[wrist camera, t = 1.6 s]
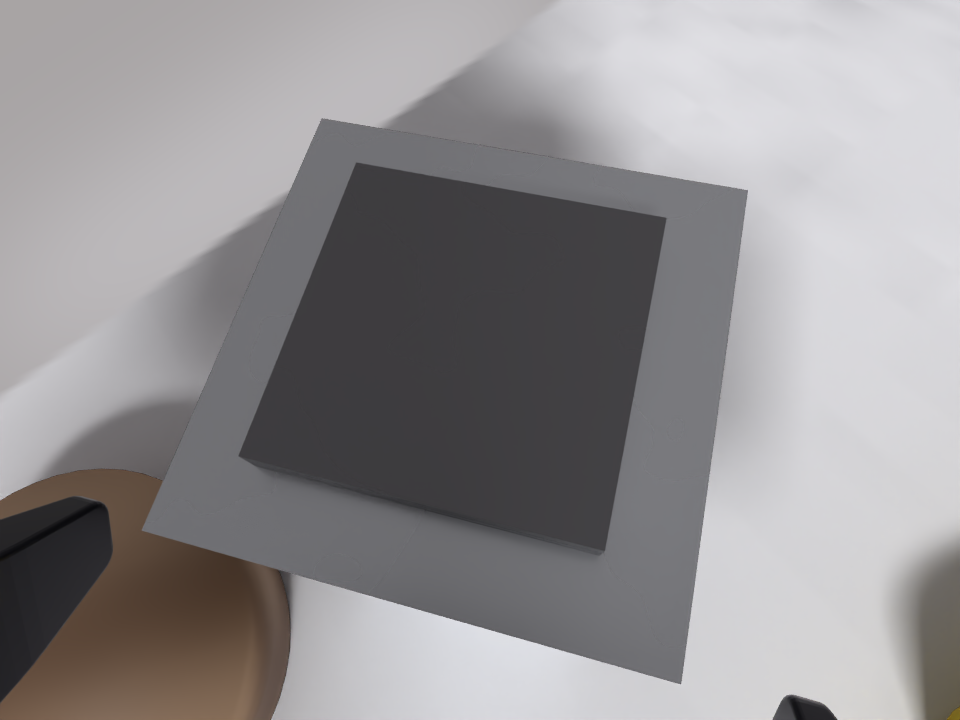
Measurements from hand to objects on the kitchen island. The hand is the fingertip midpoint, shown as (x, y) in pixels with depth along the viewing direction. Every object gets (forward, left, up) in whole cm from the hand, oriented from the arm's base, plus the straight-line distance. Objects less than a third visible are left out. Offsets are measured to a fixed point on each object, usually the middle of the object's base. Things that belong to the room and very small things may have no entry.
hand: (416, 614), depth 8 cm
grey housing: (+3, -1, -10) cm, 11 cm away
